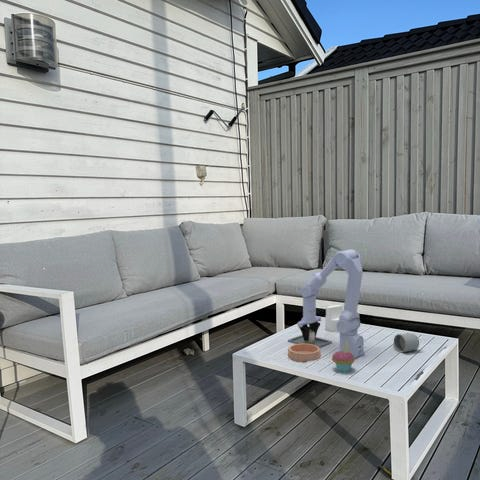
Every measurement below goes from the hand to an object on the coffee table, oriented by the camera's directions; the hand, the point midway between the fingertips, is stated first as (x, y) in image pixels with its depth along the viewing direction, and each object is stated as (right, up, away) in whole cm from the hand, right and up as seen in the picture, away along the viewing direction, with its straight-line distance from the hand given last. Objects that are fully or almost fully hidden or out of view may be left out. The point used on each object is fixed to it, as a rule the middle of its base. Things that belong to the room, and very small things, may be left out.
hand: (309, 339), depth 205 cm
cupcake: (+8, -5, -32) cm, 33 cm away
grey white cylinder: (+16, 0, +21) cm, 27 cm away
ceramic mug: (+39, -2, -11) cm, 41 cm away
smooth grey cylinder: (0, -1, 0) cm, 1 cm away
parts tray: (0, -2, 0) cm, 2 cm away
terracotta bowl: (-5, -4, -17) cm, 18 cm away
